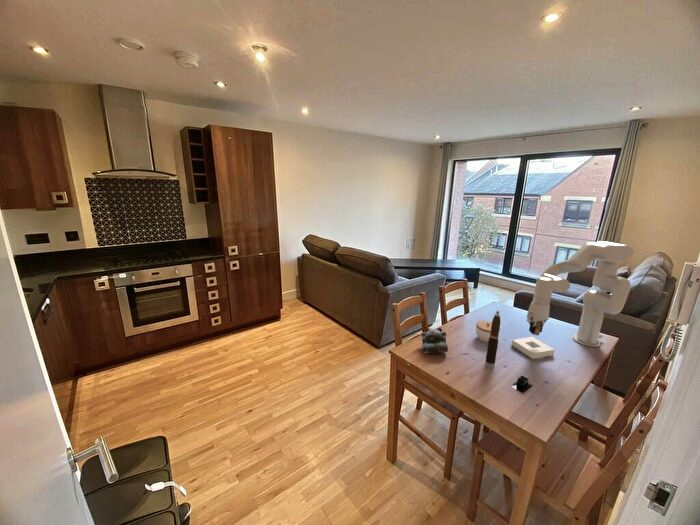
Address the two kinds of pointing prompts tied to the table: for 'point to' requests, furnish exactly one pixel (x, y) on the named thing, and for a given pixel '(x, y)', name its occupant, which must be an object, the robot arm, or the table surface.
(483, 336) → the lidded bowl
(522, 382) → the black blocky piece
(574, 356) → the table surface
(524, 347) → the bore block
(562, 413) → the table surface
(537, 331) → the pin
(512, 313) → the table surface
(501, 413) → the table surface
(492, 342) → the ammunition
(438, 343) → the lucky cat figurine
